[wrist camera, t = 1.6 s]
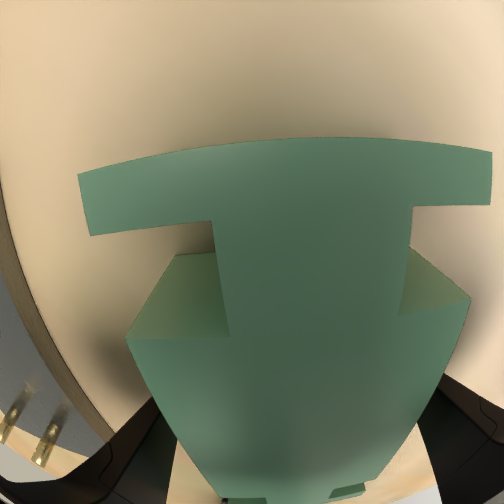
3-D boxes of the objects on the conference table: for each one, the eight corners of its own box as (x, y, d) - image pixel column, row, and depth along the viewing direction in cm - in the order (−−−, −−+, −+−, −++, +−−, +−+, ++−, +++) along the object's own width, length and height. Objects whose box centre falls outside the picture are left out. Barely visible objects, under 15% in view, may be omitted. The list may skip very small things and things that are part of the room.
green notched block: (348, 442, 13) (361, 494, 9) (233, 454, 13) (230, 509, 9) (396, 142, 7) (492, 152, 3) (158, 157, 7) (77, 174, 3)
